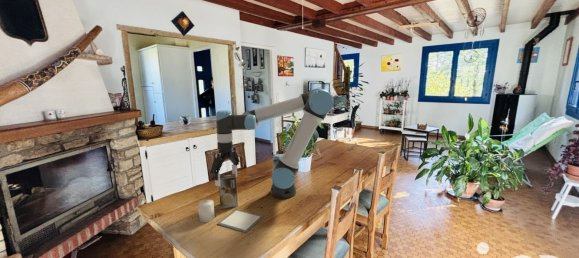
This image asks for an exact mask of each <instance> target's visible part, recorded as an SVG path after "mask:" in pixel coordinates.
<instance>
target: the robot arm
mask: <svg viewBox="0 0 579 258" xmlns="http://www.w3.org/2000/svg"><path fill="white" fill-rule="evenodd" d="M334 100H335V99H334V97H333V95H332V93H330V91H328V90H327V89H324V88H313V89H312V90H310V91H307V92H305V93H300V95H299V96H297V97H294V98H290V99H288V100H287V99H286V100H284V101H283V100H282V101H279V102H277V103H276V102H275V103H273V104H269V105H266V106H261V107H258V108H255V109H251V110H247V111H244V112H242V114H233V113H232V111H231V110H226V109H225V110H218V111H216V113H215V124H216V141H217V143H216V147H217V150H218V153H215V152H214V155H213V162H212V166H211V167H210V168H211V169H210V172H209V173H210V174H213V179H214V185H215V186H217V187H219V186H220V175H221V173H220V170H221V168H222V166H223V164H224V162H225V161H226V160H228V159H229V161H230V162H231V163H232V164H231V171H232V172H231V174H235V175H236V178H238V166H239V165H240V158H239V156H238V153H237V150H236V149H237V148H236V147H233V146H234V145H233V143H234V142H233V131H239V130H240V131H253V130H255V129H257V124H258V123H263V122H265V121H269V120H272V119H277V118H279V117H283V116H287V115H290V114H294V113H299V112H301V111H302V112H303V115H302V117H301V120H300V121H299V124H298V125H297V128H296V130H295V131H294V133H293V136H292V137H291V140H290V141H289V144H288V146H287V147H286V150H285V151H284V153H277V154H274V155H273V156H272V171H271V175H270V176H271V177H270V178H271V182H272V183H271V185H270V195H271V196H273V198H278V199H289V198H293V197H294V196H296V195H297V187H296V185H295V180H296V175H297V173H298V171H299V169H300V163H299V162H301V161H300V160H301V159H302V156H303V155H304V153H305V151H306V148H307V147H308V145H309V143H310V141H311V139H312V137H313V135H314V133H315V132H316V129H317V128H318V125H319V123H320V122H323V121H324V120H325V119H326V116H327V115H328V113H329V112H330V111H332V109H333V107H334V102H335V101H334Z"/></svg>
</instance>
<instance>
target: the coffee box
mask: <svg viewBox="0 0 579 258" xmlns="http://www.w3.org/2000/svg"><path fill="white" fill-rule="evenodd" d="M237 188H238V186H237V177H236V175H235V174H232V173H231V174H230V173H229V174H220V186H218V196H219V208H220V209H226V208H234V207H235V208H236V207H239V202H238V190H237Z"/></svg>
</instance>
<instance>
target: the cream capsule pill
mask: <svg viewBox="0 0 579 258" xmlns="http://www.w3.org/2000/svg"><path fill="white" fill-rule="evenodd" d="M214 202H215V201H214V200H212V199H203V200H201V201H199V202H198V203H197V207H198V210H197V211H198V221H199V222H201V223H204V224H206V223H211V222H212V221H214V220H215V217H216V216H215V205H214V204H215V203H214Z"/></svg>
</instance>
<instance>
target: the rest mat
mask: <svg viewBox="0 0 579 258" xmlns="http://www.w3.org/2000/svg"><path fill="white" fill-rule="evenodd" d="M263 218H264V216H263V215H260V214H256V213H251V212H248V211H244V210H241V209H236V208H235V209H234V210H233V211H232V212H231V213H229V214H228V215H226V216H225V217H224V218H223V219H221V220H220V221H218V222H217V225H218V226H222V227H225V228H228V229H231V230H234V231H237V232H238V231H239V232H241V233H244V234H247V233H248V232H249V231H251V229H252V228H253V227H254V226H255V225H256V224H258V223H259V222H260V221H261V220H262V219H263Z"/></svg>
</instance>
